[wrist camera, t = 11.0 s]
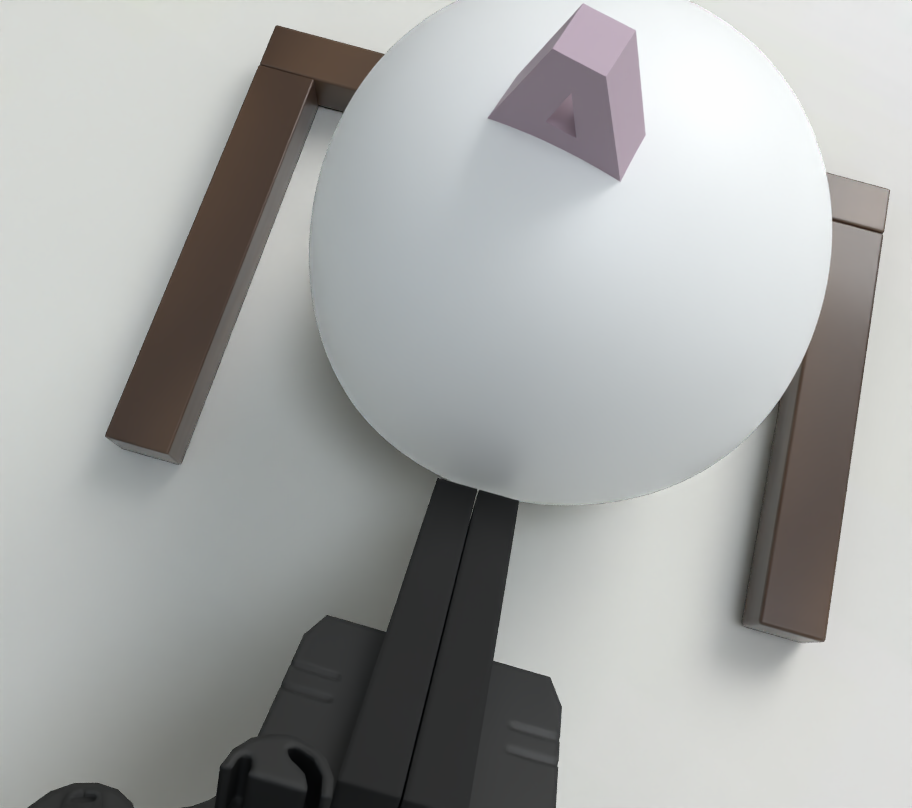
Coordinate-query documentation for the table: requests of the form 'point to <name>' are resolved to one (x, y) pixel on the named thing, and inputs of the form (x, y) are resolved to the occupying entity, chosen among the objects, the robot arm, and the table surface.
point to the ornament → (570, 245)
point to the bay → (247, 229)
